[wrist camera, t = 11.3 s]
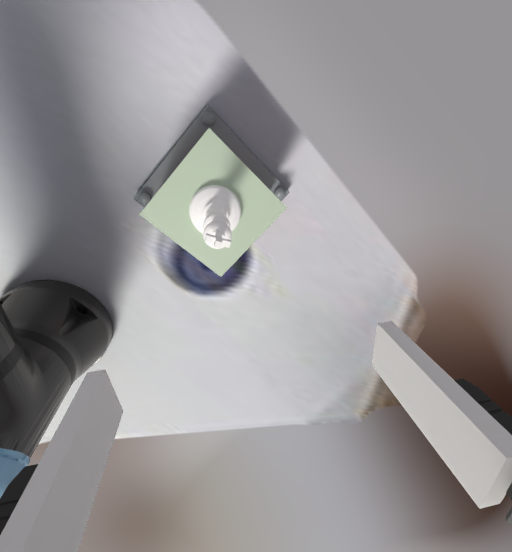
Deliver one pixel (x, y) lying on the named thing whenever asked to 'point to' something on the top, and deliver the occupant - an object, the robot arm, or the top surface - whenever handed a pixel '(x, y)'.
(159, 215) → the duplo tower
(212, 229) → the chess piece
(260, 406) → the top surface
